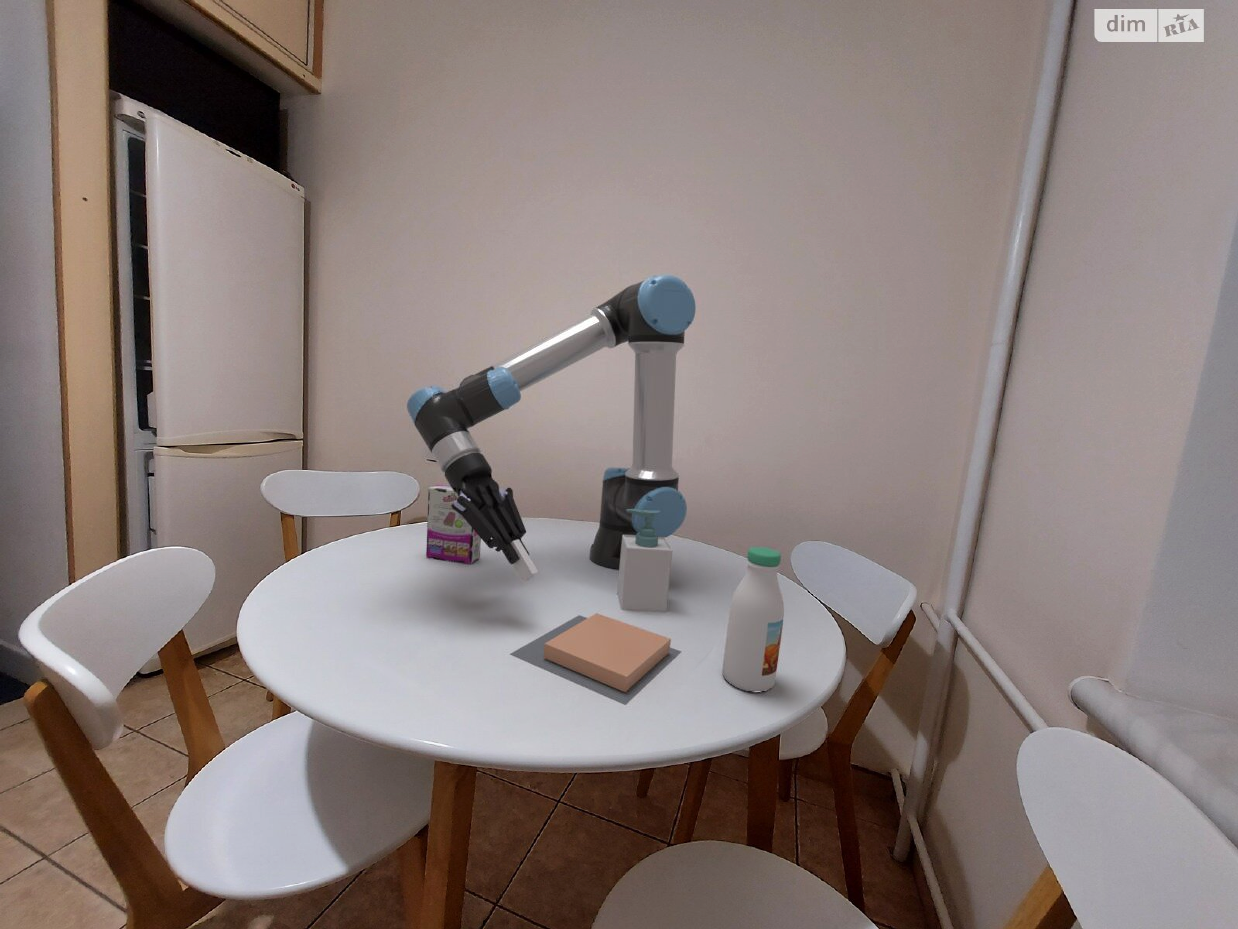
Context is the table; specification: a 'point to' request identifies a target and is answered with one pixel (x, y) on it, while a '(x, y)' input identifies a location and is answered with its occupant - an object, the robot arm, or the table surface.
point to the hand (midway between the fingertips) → (530, 577)
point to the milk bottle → (755, 624)
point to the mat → (535, 655)
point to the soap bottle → (644, 568)
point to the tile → (608, 651)
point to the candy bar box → (449, 529)
